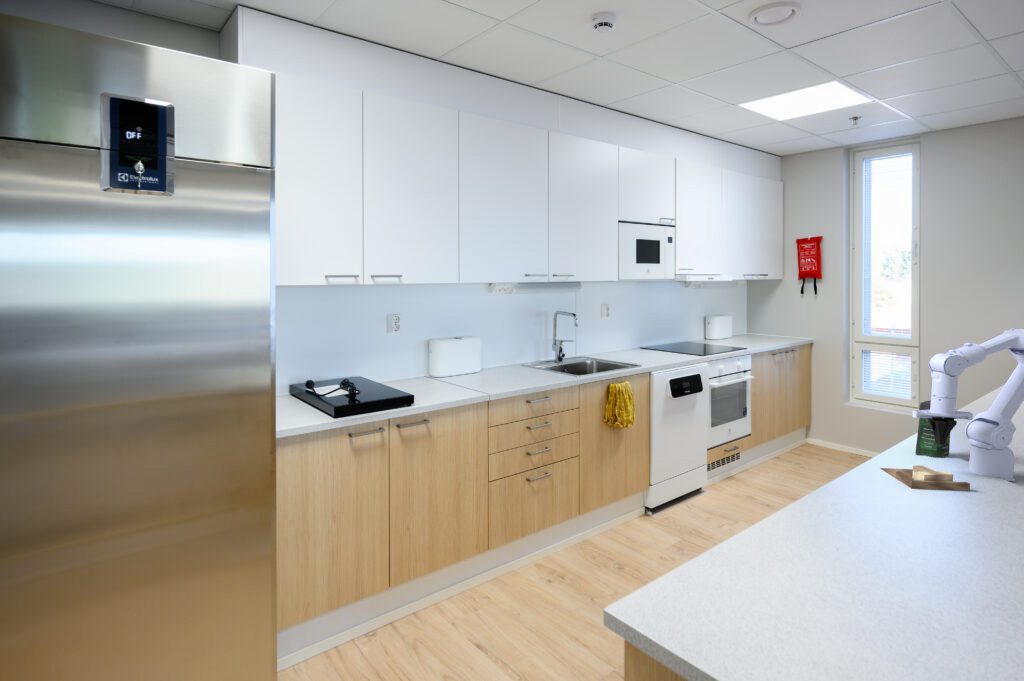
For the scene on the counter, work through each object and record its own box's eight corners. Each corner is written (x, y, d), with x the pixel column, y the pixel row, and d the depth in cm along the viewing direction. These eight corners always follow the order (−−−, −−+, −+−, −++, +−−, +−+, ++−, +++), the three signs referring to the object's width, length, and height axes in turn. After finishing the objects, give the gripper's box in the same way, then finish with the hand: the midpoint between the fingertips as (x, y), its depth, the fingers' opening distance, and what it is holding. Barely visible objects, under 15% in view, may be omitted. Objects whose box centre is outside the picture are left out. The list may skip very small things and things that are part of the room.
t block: (930, 477, 160) (931, 465, 160) (952, 486, 153) (953, 474, 152) (902, 477, 160) (903, 465, 159) (923, 487, 152) (924, 474, 152)
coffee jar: (940, 462, 177) (945, 403, 175) (911, 456, 184) (915, 399, 182) (953, 457, 182) (957, 400, 181) (924, 451, 189) (928, 395, 187)
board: (931, 474, 167) (932, 463, 166) (969, 495, 150) (970, 483, 150) (879, 471, 169) (879, 461, 168) (911, 492, 152) (911, 481, 151)
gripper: (962, 394, 164) (959, 440, 166) (907, 393, 166) (904, 438, 168) (979, 399, 157) (975, 447, 159) (921, 397, 159) (918, 445, 161)
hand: (940, 443), depth 163 cm, fingers closed
